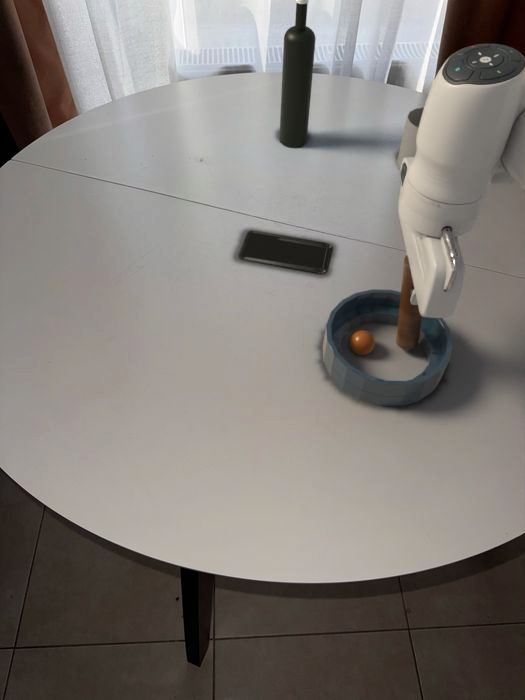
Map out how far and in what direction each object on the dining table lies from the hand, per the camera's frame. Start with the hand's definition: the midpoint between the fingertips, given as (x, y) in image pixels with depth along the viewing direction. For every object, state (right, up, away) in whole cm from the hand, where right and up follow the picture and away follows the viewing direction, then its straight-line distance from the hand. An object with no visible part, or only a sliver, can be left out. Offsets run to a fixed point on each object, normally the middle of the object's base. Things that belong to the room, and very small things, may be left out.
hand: (413, 288), depth 76 cm
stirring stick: (+1, -7, +8) cm, 11 cm away
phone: (-16, +8, +23) cm, 29 cm away
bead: (-5, -7, +8) cm, 12 cm away
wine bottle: (-13, +36, +46) cm, 60 cm away
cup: (+11, +29, +41) cm, 51 cm away
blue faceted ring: (-2, -10, +9) cm, 14 cm away
